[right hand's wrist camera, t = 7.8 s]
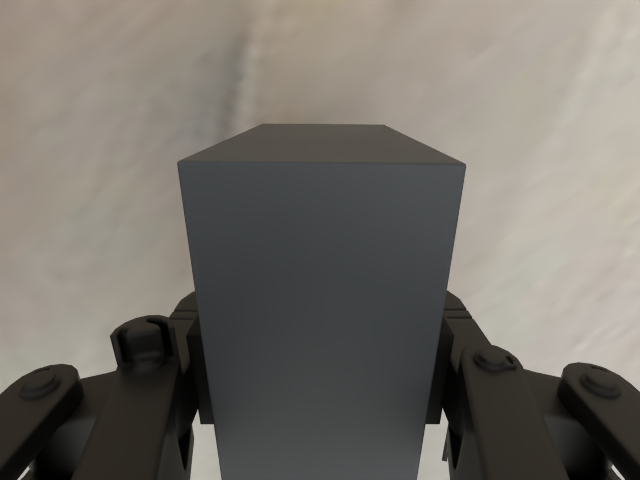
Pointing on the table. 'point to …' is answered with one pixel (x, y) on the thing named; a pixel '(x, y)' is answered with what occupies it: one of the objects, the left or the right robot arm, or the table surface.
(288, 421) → the bar
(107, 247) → the table surface
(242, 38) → the table surface
